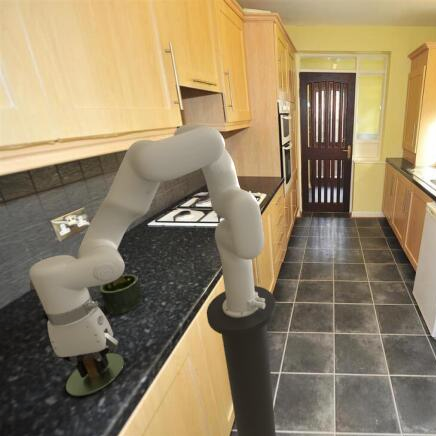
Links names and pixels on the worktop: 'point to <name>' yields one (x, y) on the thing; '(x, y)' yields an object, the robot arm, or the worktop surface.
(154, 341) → the worktop surface
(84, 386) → the lid
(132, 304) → the tin
